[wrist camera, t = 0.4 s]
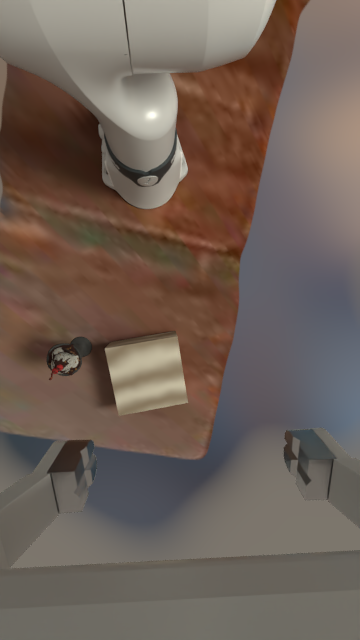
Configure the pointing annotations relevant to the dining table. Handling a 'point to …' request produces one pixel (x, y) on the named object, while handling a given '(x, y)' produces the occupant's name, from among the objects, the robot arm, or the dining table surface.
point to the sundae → (68, 356)
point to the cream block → (146, 373)
